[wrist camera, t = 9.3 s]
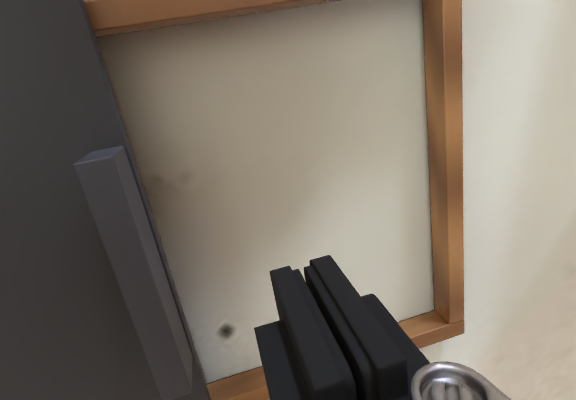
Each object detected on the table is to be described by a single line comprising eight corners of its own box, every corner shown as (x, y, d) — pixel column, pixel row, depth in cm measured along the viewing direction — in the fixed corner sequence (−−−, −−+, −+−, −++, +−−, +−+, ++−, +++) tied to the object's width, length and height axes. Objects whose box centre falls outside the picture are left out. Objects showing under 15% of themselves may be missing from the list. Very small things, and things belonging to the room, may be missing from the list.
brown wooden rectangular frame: (-285, 60, 12) (-348, 57, 11) (440, -40, 17) (462, -51, 15) (-16, 472, 19) (-32, 503, 17) (448, 318, 24) (464, 333, 22)
